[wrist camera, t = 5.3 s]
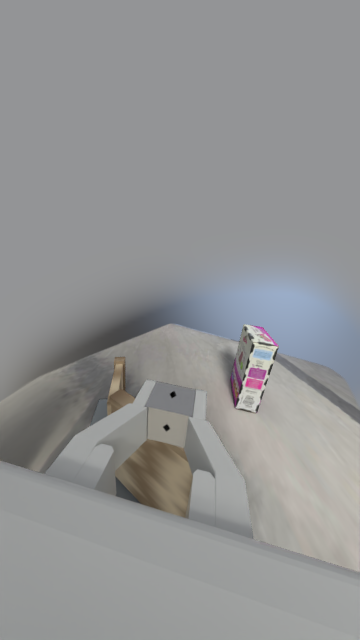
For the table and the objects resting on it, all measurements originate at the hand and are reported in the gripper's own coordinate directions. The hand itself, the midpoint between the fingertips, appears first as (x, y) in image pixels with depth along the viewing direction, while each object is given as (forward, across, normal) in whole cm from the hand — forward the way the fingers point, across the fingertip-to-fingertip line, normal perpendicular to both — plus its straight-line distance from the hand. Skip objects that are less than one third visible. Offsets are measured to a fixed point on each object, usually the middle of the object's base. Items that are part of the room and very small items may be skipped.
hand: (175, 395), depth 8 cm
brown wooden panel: (+5, +2, +22) cm, 23 cm away
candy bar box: (+30, -13, +24) cm, 40 cm away
